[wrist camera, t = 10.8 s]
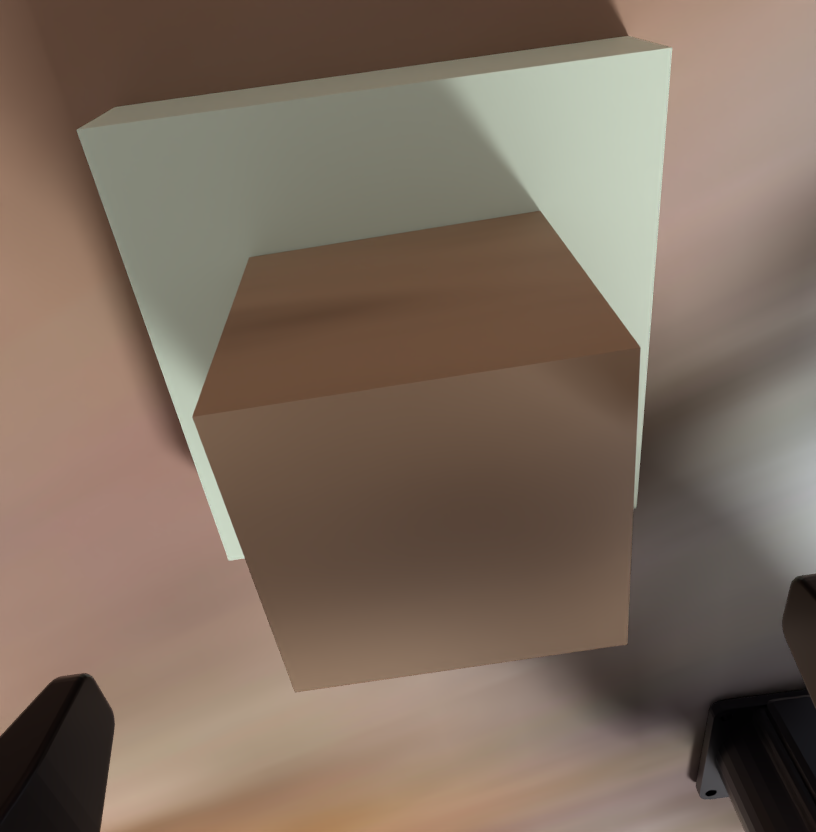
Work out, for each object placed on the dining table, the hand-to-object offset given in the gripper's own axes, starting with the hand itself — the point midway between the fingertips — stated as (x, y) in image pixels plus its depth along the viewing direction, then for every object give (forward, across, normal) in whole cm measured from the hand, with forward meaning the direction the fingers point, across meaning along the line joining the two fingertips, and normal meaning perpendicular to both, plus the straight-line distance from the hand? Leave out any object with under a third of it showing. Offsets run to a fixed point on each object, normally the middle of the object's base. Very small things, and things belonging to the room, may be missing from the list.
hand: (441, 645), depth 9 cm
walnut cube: (+8, 0, 0) cm, 8 cm away
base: (+11, 0, 0) cm, 11 cm away
